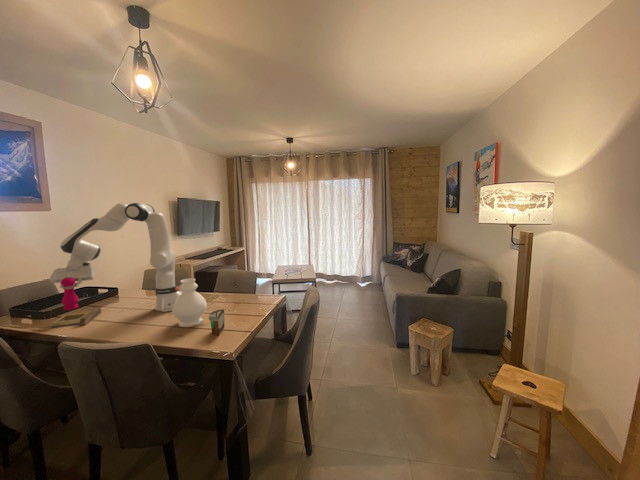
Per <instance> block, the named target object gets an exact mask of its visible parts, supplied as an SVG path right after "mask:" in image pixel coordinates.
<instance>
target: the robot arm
mask: <svg viewBox="0 0 640 480" xmlns="http://www.w3.org/2000/svg"><path fill="white" fill-rule="evenodd" d="M129 220H132V221H138V222H144V223H145V224H146V225H147V231H148V235H149V242H150V257H149V258H150V259H149V263H150V265H151V266H152V267H153V268H155V269H156V273H155V277H154V278H155V290H154V291H155V296H156V299H155V300H156V302H155V308H154V310H155V311H158V312H163V313H165V312H172V306H173V304H174V302H175V301H176V299H177V298H178V297H179V296H180V295H181V294H182V293H183V292H182V291H180V290H179V287H180V285H176V277H175V275H176V274H175V271H176V258H177V257H176V256H177V255H176V252H175V251H174V250H172V249H170V244H171V243H170V242H171V237H170V232H169V227H168V223H167V220H166V217H165V215H164V214H163V213H161V212H158V211H155V208H154V207H153V206H152V205H150V204H147V203H142V202H138V203H137V202H132V203H130V204H127V203H125V202H118V203H117V204H115V205H114V206H112V207H111V209H109V210H108V211H107V212H106V213H105V215H103V216H101V217H99V218H97V217H96V218H92V219H91V220H89V221H88V222H87V223H85V224H84V225H82V226H81V227H80V228H79V229H78V230H76V231H74V233H72V234H70V235H69V236H67V237H66V238H64V239H63V240H62V242H60V249H61V250H62V252H63V253H66V254H70V256H69V257H70V258H69V261H68V262H67V265H66V267H62V268H60V267H58V268H57V269H54V270H53V272H52V273H51V275H50V276H49V279H48V280H49V281H50V283H52V284H57V283H58V284H60V286H59V287H60V288H61V289H63V285H61V281H62V280H63V279H64V278H66V277H65V276H66V275H69V276H70V277H71V278H74V279H75V283H74V288H77V287H78V288H79V287H80V285H81V284H82V283H83V282H85V281H92V280H93V279H95V277H96V272H95V271H96V268H95V266H94V265H93V264H92V263H90V262H91V261H94V260H96V259H97V258H98V257H99V256H100V253H101V247H100V246H99V245H97V244H95V243H92V242H89V241H87V240H84V239H83V238H84V237H85V236H86V235H88V234H89V233H91V232H93V231H102V232H103V231H104V232H116V231H119V230H121V229H122V228H123V227H124V226H125V225H126V223H127V222H128V221H129Z"/></svg>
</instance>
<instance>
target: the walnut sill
mask: <svg viewBox="0 0 640 480" xmlns="http://www.w3.org/2000/svg"><path fill="white" fill-rule="evenodd" d="M88 312H89V313H87V312H86V313H87V314H86V315H85V316H83V317H82V318H80V324H79V325H80V326H81V327H82V326H83V327H84V326H86V325H89V323H91V321H93V320H94V319H95V318H97V317H98V316H100V314H102V308H101V306H96V307H94V308H93V309H92V310H90V311H88Z"/></svg>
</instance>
